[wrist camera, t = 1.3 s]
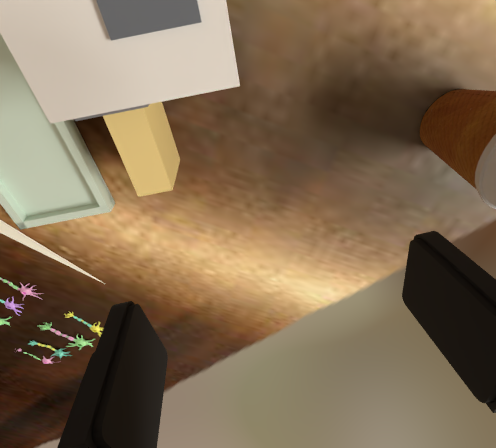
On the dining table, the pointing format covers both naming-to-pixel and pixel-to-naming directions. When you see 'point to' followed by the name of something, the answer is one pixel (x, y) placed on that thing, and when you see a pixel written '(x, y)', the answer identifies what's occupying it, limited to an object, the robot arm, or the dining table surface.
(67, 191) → the tray
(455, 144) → the disposable coffee cup
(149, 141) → the pale yellow paper bar
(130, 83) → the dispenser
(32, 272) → the dining table surface
